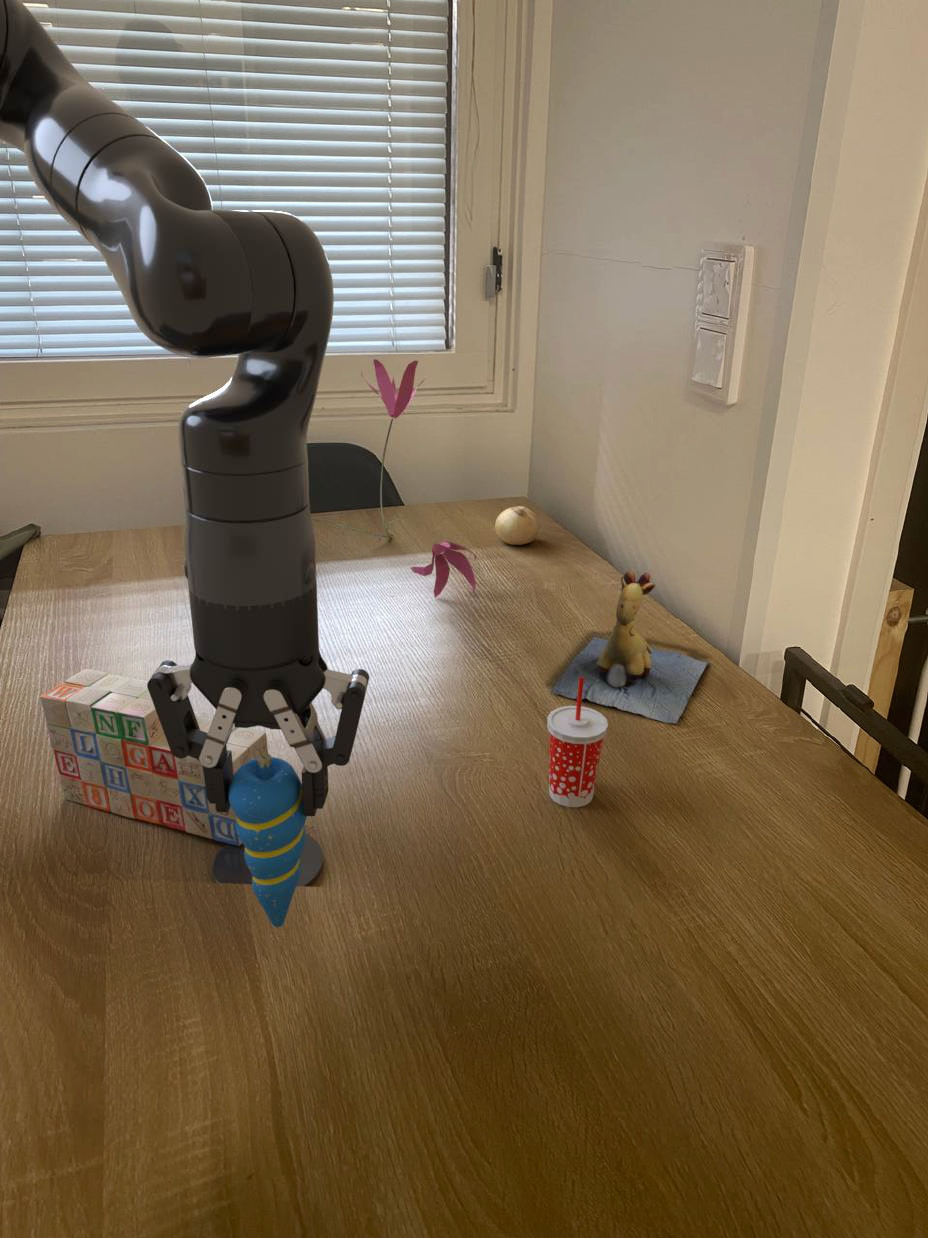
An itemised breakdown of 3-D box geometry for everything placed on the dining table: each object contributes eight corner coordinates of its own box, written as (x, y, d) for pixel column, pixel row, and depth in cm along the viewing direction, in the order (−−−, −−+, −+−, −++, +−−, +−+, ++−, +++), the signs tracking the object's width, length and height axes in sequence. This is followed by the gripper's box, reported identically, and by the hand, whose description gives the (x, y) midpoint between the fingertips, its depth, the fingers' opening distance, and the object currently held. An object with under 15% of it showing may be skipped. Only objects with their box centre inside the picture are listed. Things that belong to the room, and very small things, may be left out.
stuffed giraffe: (550, 692, 114) (565, 575, 108) (594, 640, 130) (610, 534, 123) (675, 728, 109) (699, 606, 102) (706, 669, 124) (729, 560, 117)
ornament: (277, 962, 63) (265, 782, 56) (224, 930, 65) (207, 754, 59) (326, 918, 67) (321, 745, 60) (275, 889, 69) (264, 720, 63)
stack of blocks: (276, 811, 91) (264, 703, 86) (240, 849, 85) (225, 736, 80) (104, 767, 98) (84, 665, 93) (61, 799, 92) (38, 693, 87)
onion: (485, 540, 165) (486, 502, 162) (515, 531, 170) (517, 494, 166) (516, 552, 159) (518, 514, 156) (547, 542, 164) (550, 505, 161)
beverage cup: (590, 775, 99) (601, 661, 93) (607, 809, 93) (621, 690, 87) (535, 779, 98) (543, 664, 92) (550, 814, 92) (559, 694, 86)
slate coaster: (199, 902, 80) (198, 896, 80) (229, 829, 89) (228, 824, 89) (312, 906, 80) (312, 901, 79) (331, 833, 89) (331, 828, 88)
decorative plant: (344, 706, 155) (275, 646, 127) (270, 516, 172) (195, 427, 145) (542, 609, 154) (515, 528, 126) (448, 428, 171) (405, 322, 144)
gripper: (379, 558, 58) (380, 780, 65) (154, 547, 58) (180, 770, 65) (364, 606, 51) (367, 848, 58) (109, 595, 51) (143, 837, 58)
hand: (268, 806), depth 61 cm, fingers closed on ornament, 5 cm apart
